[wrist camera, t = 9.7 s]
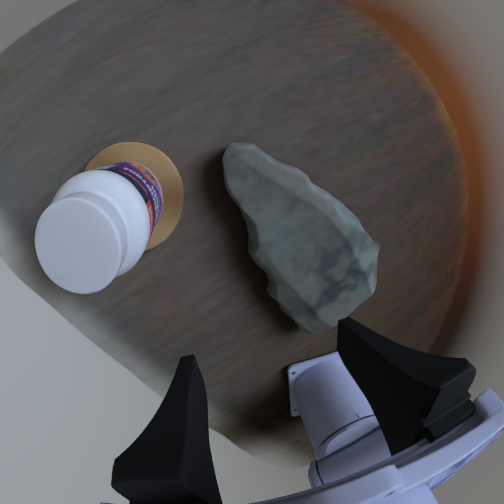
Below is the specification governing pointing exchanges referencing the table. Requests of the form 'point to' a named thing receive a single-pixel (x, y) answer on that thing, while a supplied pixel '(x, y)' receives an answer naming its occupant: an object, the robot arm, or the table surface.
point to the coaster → (161, 170)
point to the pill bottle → (98, 226)
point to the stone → (301, 239)
